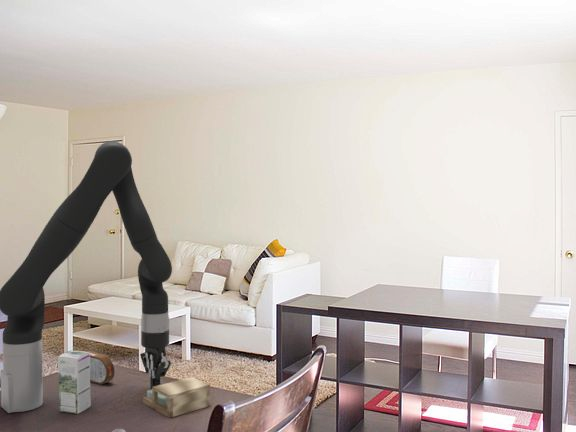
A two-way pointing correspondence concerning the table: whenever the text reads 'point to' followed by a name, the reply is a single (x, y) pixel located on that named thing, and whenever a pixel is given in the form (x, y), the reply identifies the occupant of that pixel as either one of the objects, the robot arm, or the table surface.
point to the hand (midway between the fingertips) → (155, 390)
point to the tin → (100, 368)
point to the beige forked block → (180, 397)
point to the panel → (161, 398)
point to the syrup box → (74, 381)
